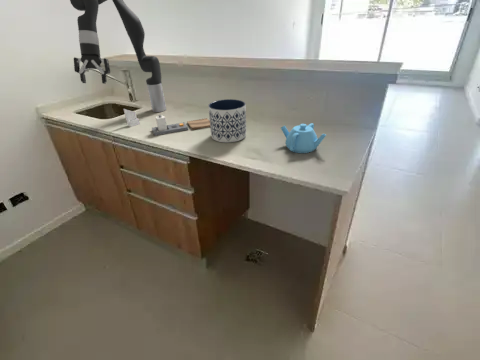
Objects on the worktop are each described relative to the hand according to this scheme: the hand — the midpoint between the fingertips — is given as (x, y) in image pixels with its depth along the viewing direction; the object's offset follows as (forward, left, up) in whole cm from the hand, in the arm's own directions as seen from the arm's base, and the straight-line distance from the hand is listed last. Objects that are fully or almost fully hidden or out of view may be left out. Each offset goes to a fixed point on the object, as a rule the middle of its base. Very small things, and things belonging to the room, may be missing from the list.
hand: (94, 83), depth 122 cm
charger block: (-4, +26, -29) cm, 39 cm away
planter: (+19, +56, -29) cm, 66 cm away
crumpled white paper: (-23, +12, -29) cm, 39 cm away
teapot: (+47, +81, -29) cm, 98 cm away
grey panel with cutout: (-4, +30, -29) cm, 42 cm away
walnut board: (-4, +47, -29) cm, 55 cm away
